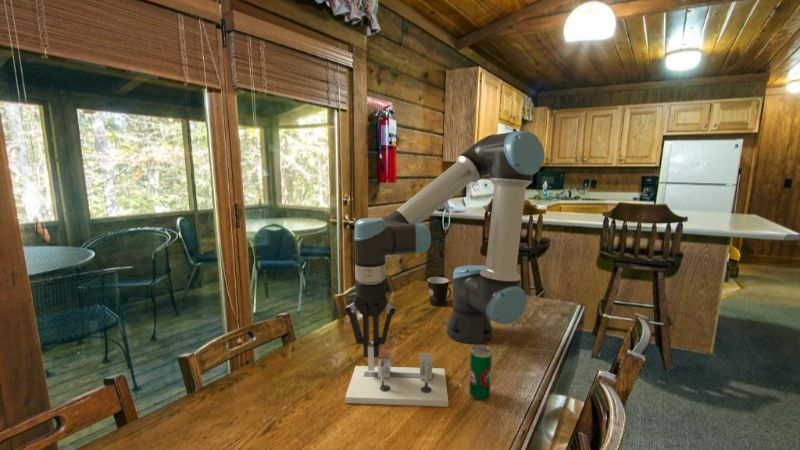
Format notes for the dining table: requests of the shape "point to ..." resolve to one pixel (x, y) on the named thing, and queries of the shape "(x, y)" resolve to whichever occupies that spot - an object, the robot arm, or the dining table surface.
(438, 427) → the dining table surface
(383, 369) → the sliding leg
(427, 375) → the fixed leg
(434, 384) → the bolt plate
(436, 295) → the coffee mug
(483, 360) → the soda can
